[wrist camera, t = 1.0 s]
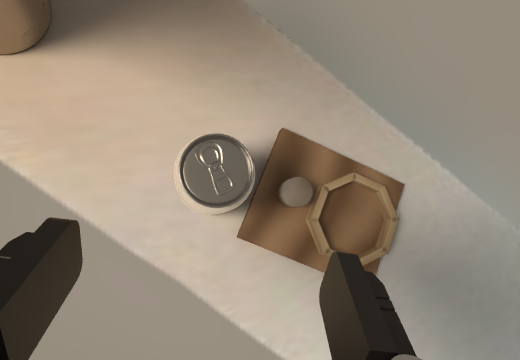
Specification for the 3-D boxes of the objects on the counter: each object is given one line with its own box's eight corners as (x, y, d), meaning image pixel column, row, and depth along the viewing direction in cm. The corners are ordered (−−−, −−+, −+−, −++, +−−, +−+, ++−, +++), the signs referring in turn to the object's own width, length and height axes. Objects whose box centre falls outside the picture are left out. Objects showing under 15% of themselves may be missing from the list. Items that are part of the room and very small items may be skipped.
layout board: (236, 236, 37) (242, 239, 33) (279, 130, 40) (290, 120, 36) (364, 288, 40) (384, 296, 36) (398, 185, 42) (420, 181, 38)
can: (222, 146, 38) (237, 114, 26) (247, 199, 38) (273, 191, 26) (167, 170, 37) (157, 148, 25) (193, 225, 37) (195, 229, 25)
